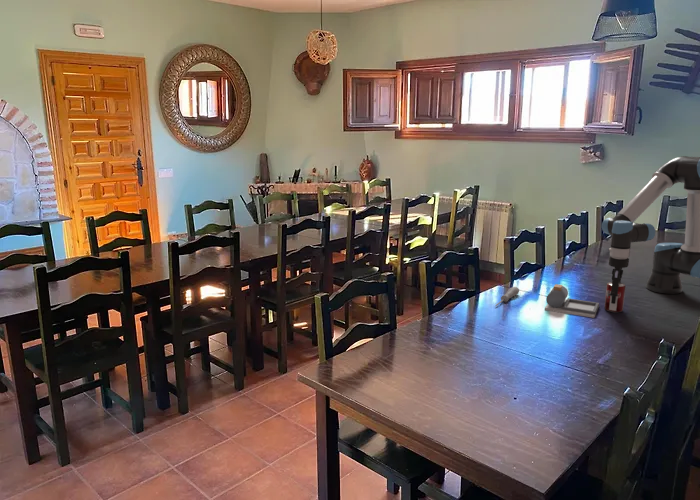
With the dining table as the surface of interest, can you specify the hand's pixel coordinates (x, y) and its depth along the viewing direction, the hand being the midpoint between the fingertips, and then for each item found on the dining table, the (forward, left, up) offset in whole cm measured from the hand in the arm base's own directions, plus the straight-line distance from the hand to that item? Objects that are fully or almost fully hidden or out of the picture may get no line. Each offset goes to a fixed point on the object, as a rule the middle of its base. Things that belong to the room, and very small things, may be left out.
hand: (613, 306), depth 226 cm
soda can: (0, 0, -2) cm, 2 cm away
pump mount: (+16, +6, -2) cm, 17 cm away
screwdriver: (+44, +9, -2) cm, 45 cm away
